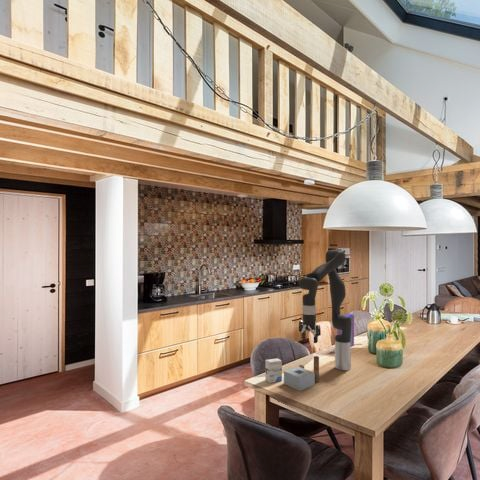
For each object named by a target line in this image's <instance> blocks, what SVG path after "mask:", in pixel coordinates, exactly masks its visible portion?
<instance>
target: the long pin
mask: <svg viewBox="0 0 480 480" xmlns="http://www.w3.org/2000/svg"><path fill="white" fill-rule="evenodd" d="M313 372H314V373H315V383H316V384H317V383H318V384H319V382H320V357H319V356H318V355H314V356H313Z"/></svg>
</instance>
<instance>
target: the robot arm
mask: <svg viewBox="0 0 480 480" xmlns="http://www.w3.org/2000/svg"><path fill="white" fill-rule="evenodd" d="M346 259H347V258H346V253H345V252H344V251H343V250H342V249H341V250H340V249H336V250H335V249H329V250H327V251H326V252H325V263H323V264H321V265H319V266H317V267H316V268H315V269H313V270H312V272H309V273H308V274H306V275H304V276H302V277H301V278H300V280H299V282H298V285H299V288H300V289H302V290H306V291H308V293H305V294H303V295H302V309H301V310H302V312H301V313H302V317H301V318H302V320H299V321H298V331H299V333H301V340H302V341H305V340H306V339H307V338H306V337H307V336H306V335H307V334H306V331H307V332H310V333H311V334H312V336H313V344H317V343H318V341H319V340H318V339H319V337H320V336H322V335H321V333H322V332H321V325H320V324H316V321H317V308H316V295H317V292H318V288H319V283H320V282H321V281H322V280H323V279H324V278H325V277H326V276H328V280H329V282H328V283H329V292H330V299H331V300H330V301H331V322H332V327H333V328H334V329H335V330H337V329H339V330H342V334H339V335H335V337H334V368H335V370H336V369H337V370H338V371H350V370H351V368H352V353H351V347H350V338H351V327H352V322H351V318H350V317H348V316H344V315H345V314H343V315H342V314H341V307H342V304H343V302H344V300H345V299H346V293H347V291H346V285H345V283H344V281H343V280H342V278H341V276H340V274H338V271H337V268H339V267H341V266H342V265H343V264H344V263H345V262H346Z"/></svg>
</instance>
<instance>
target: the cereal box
mask: <svg viewBox="0 0 480 480" xmlns="http://www.w3.org/2000/svg"><path fill="white" fill-rule="evenodd" d="M343 315H344V316H348V317H350V318H351V322H352V327H351V338H350V348H352V347H354V346H355V314H353V313H347V314H343ZM336 330H337V331H336V332H337V335H339V334H342V330H339V329H336Z"/></svg>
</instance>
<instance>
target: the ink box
mask: <svg viewBox="0 0 480 480" xmlns="http://www.w3.org/2000/svg"><path fill="white" fill-rule="evenodd" d="M264 363H265V365H264V366H265V373H264V375H265V378H264V379H265V381H266V382H267V383H269V384H270V383H277V382H282V381H283V380H282V378H283V375H282V374H283V372H282V371H283V361H282V360H281V359H280V358H277V357H276V358H270V359H265V361H264Z"/></svg>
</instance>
